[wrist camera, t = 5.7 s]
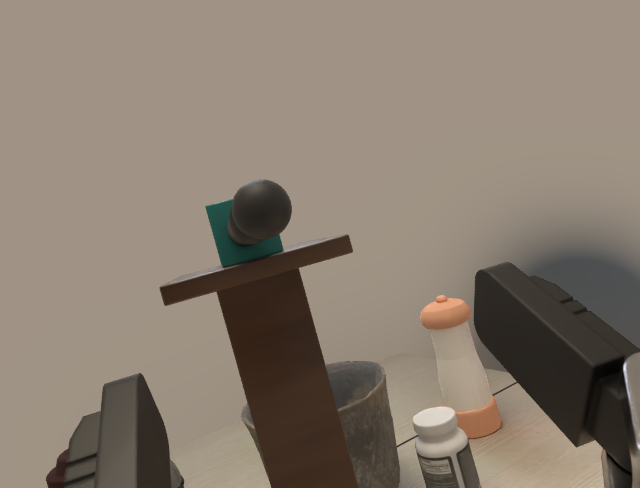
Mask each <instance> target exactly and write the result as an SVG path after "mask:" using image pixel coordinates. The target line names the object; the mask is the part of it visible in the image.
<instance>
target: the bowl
mask: <svg viewBox="0 0 640 488" xmlns="http://www.w3.org/2000/svg"><path fill="white" fill-rule="evenodd" d="M325 366H326V370H327V373H328V377H329V380H330V384H331V388H332V391H333V395H334V399H335V402H336V406H337V410H338V413H339V417H340V421H341V424H342V428H343V431H344V435H345V439H346V442H347V446H348V450H349V453H350V457H351V461H352V464H353V468H354V471H355V475H356V479H357V482H358V486H359V488H398V487H399V483H400V467H399V460H398V453H397V447H396V440H395V433H394V426H393V419H392V416H391V411H390V406H389V400H388V394H387V388H386V374H385V372H384V369H383V367H381V366H380V365H379V364H377V363H374V362H367V361H353V362H350V361H346V362H338V363H332V364H326V365H325ZM241 415H242V420H243V422H244V424H245V425H246V427H247V428H248V430H249V432H250V434H251V436H252V438H253V439H254V442H255V444H256V447H257V449H258V451H259V453H260V456H261V459H262V462H263V464H264V467H265V470H266V466H265V463H264V459H263V456H262V452H261V449H260V445H259V441H258V438H257V434H256V431H255V427H254V424H253V420H252V416H251V413H250V409H249V406H248V403H247V405H246V406H245V407H244V408H243V410H242V413H241ZM266 473H267V470H266ZM267 475H268V474H267ZM268 478H269V477H268Z"/></svg>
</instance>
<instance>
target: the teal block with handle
mask: <svg viewBox="0 0 640 488" xmlns="http://www.w3.org/2000/svg"><path fill="white" fill-rule="evenodd" d="M206 210H207V214H208V218H209V221H210V225H211V229H212V232H213V236H214V239H215V243H216V246H217V250H218V254H219V257H220V261H221V264H222V267H223V268H224V267H227V266H231V265H234V264H238V263H242V262H245V261H249V260H252V259H256V258H260V257H263V256H267V255H270V254H274V253H278V252H281V251H283V246H282V242H281V239H280V235H279V234H280V233H281V232H282V231H283V230H284V229H285V228H286V226H287V224H288V223H289V221H290V218H291V213H292V206H291V201H290V199H289V196H288V195H287V193H286V191H285V190H284V189H283V188H282V187H281V186H279V185H278V184H276V183H274V182H272V181H269V180H254V181H251V182H249V183H247V184H245V185H244V186H242V187H241V188H240V189H239V190H238V191H237V193H236V195H235V196H234V199H231V200H227V201H224V202H219V203H215V204H211V205H207V206H206Z"/></svg>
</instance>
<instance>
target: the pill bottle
mask: <svg viewBox="0 0 640 488" xmlns="http://www.w3.org/2000/svg"><path fill="white" fill-rule="evenodd" d="M457 424H458V420H457V417H456V414H455V411H454V410H453V409H451V408H448V407H434V408H429V409H426V410H423V411H421V412H419V413H418V414H416V415H415V416H414V418H413V425H414V430H415V432H416V433H417V434H418V435H419V436H418V437H417V439H416V442H415V448H416V452H417V455H418V459H419V462H420V466H421V470H422V473H423V477H424V480H425V484H426V487H427V488H481V485H480V481H479V477H478V474H477V470H476V467H475V463H474V460H473V456H472V453H471V449H470V445H469V442H468V438H467V436H466V434H465V432H464V431H463V430H462V429H460V428H459V427H457Z"/></svg>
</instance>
